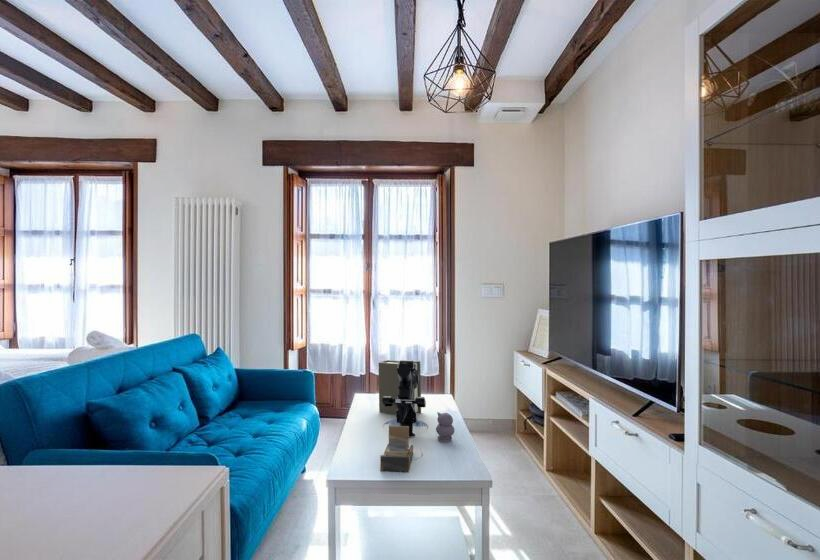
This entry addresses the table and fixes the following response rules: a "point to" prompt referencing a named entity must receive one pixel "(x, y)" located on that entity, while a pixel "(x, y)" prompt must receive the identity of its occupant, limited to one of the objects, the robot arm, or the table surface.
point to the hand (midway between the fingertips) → (402, 421)
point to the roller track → (396, 462)
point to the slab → (398, 441)
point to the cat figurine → (445, 427)
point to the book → (394, 385)
